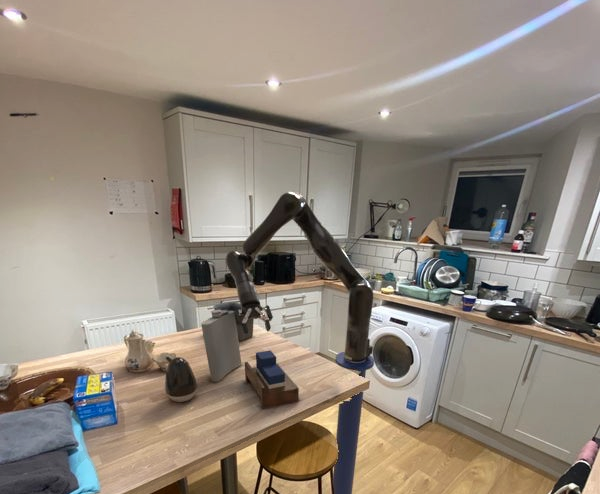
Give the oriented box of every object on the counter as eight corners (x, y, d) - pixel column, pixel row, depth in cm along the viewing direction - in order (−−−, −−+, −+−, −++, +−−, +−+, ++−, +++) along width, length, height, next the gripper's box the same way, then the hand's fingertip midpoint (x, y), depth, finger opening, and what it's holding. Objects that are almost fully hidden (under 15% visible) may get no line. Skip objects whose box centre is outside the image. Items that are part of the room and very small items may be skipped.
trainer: (256, 371, 123) (255, 352, 120) (271, 368, 125) (271, 350, 122) (268, 389, 111) (268, 369, 108) (285, 385, 114) (285, 366, 111)
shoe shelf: (277, 374, 131) (277, 356, 128) (298, 400, 115) (298, 380, 111) (245, 381, 126) (244, 362, 123) (262, 409, 110) (261, 387, 106)
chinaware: (185, 371, 136) (184, 332, 130) (147, 383, 123) (143, 340, 117) (147, 353, 150) (144, 317, 145) (108, 362, 138) (104, 323, 132)
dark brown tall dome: (183, 387, 121) (178, 348, 115) (204, 395, 116) (200, 355, 110) (160, 400, 113) (152, 359, 107) (181, 409, 108) (175, 367, 102)
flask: (233, 362, 141) (225, 304, 131) (243, 363, 139) (235, 304, 129) (207, 380, 126) (195, 316, 116) (217, 382, 124) (206, 317, 115)
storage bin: (260, 336, 167) (259, 309, 161) (236, 345, 156) (234, 316, 150) (233, 326, 180) (232, 300, 174) (209, 334, 169) (206, 306, 163)
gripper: (231, 292, 127) (241, 330, 122) (267, 288, 132) (277, 325, 128) (229, 302, 133) (238, 338, 129) (263, 298, 139) (273, 333, 134)
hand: (258, 332), depth 128 cm, fingers open, 8 cm apart
